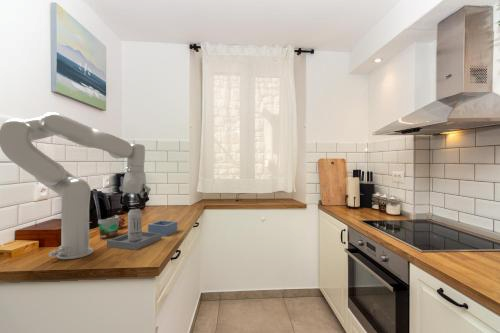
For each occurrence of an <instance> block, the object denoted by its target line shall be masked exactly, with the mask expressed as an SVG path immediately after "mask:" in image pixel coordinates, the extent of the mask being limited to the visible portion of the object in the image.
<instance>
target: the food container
mask: <svg viewBox="0 0 500 333" xmlns="http://www.w3.org/2000/svg"><path fill="white" fill-rule="evenodd" d="M114 216H115V217H112V216H111V217H112V218H111V217H107V218H104V219H101V218H99V219H98V220H97V224H98V229H99V230H98V231H99V240H101V239H102V240H104V239H105V240H108V239H113V238H116V237H118V236H119V235H118V234H119V229H118V224H119V221H120V217H119V216H120V215H118V214H115V215H114Z"/></svg>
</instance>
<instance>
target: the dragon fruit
mask: <svg viewBox="0 0 500 333" xmlns="http://www.w3.org/2000/svg"><path fill="white" fill-rule="evenodd" d="M118 216H119V217H120V221H119V224H118V230H119V229H121V228H122V226H124V225H126V222H125V221H126V219H125V217H124V216H122V214H120V215H118ZM112 217H115V215H113V216H111V217H110V218H112Z"/></svg>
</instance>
